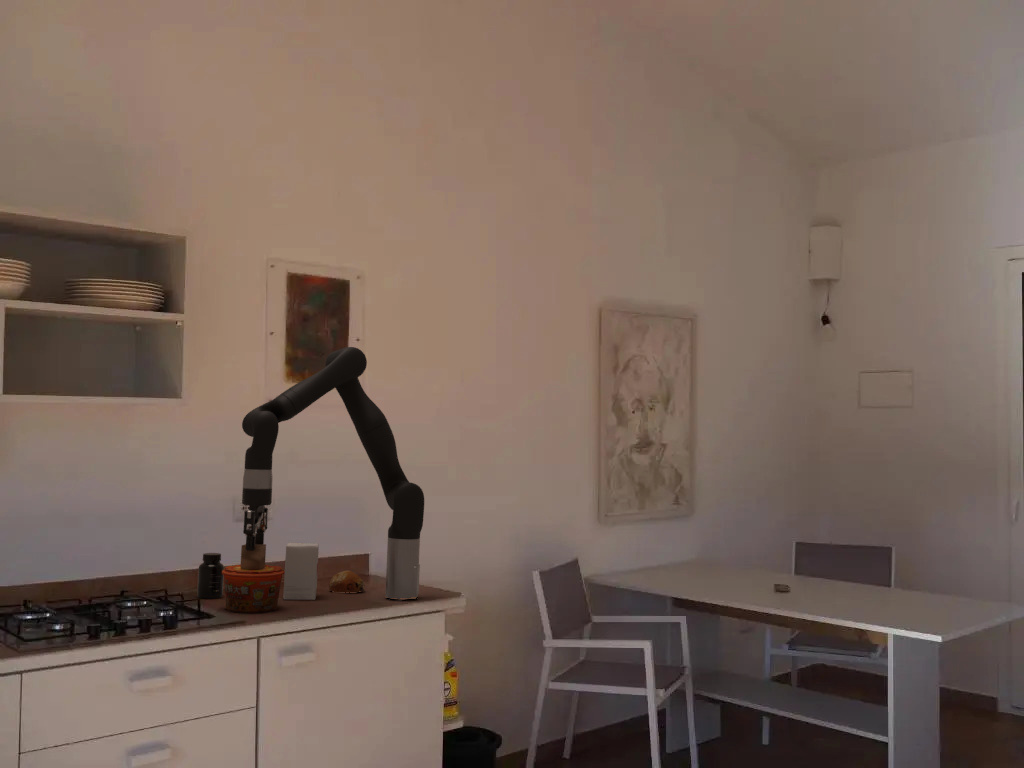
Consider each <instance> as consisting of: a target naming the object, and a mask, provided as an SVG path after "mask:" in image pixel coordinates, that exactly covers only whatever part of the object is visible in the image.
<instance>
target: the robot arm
mask: <svg viewBox="0 0 1024 768" xmlns="http://www.w3.org/2000/svg"><path fill="white" fill-rule="evenodd" d="M367 364H368V362H367V358H366V354H365V353H364V351H362V350H361V349H360V348H358V347H354V346H346V347H342V348H340V349H337V350H334V351H332V352H330V353H329V354H328V355H327V357H326V359H325V366H324V368H322V369H321V370H319V371H317V372H315V373H314V374H313V375H310V376H309V377H307V378H305V379H303V380H301V381H299V382H297V383H296V384H294V385H292V386H291V387H289V388H288V389H286V390H285V391H283V392H281V393H280V394H279V395H277V396H276V397H275V398H273V399H272V400H269V401H267V402H265V403H263V404H261V405H259V406H257V407H255V408H253V409H252V410H251V411H249V412H248V413H247V414H246V415H244V417H243V420H242V422H241V427H242V430H243V433H245V435H247V436H249V437H251V438H252V442H251V446H250V447H248V448H247V449H246V450H245V455H244V472H243V477H242V495H241V496H242V498H241V503H242V505H243V506H249V507H248V510H247V509H246V510H245V511H244V515H243V516H244V517H243V531H242V532H243V534H244V535H245V544H246V550H247V551H253V550H255V544H265V542H264V541H265V533H266V532H267V531H266V530H267V529H268V516H269V515H268V514H269V509H268V507H265V506H270V505H272V502H273V501H272V500H273V453H274V451H275V447H276V443H277V439H278V435H279V427H280V425H279V424H280V423H282V422H286V421H289V420H291V419H293V418H294V417H295V416H297V415H299V414H300V413H301V412H303V411H304V410H306V409H307V408H308V407H310V406H311V405H313V404H314V403H315V402H317V401H318V400H320V398H322V397H324V396H325V395H326V394H328V393H329V392H331V391H332V390H336V391H337V393H338V395H339V396H340V398H341V400H342V402H343V404H344V406H345V409H346V411H347V413H348V415H349V418H350V419H351V421H352V424H353V425H354V427H355V431H356V434H357V436H358V438H359V440H360V443H361V444H362V447H363V448H364V450H365V453H366V454H367V456H368V459H369V460H370V463H371V464H372V466H373V468H374V470H375V472H376V474H377V476H378V480H379V483H380V486H381V488H382V491H383V492H382V493H383V495H384V498H385V501H386V503H387V505H388V507H389V509H391V510H392V518H391V519H392V522H391V525H390V526H389V527H388V529H387V548H386V549H387V550H386V568H385V569H386V570H385V572H386V576H385V590H384V591H385V594H384V595H385V596H386V597H388V598H397V599H400V598H411V597H417V596H418V594H420V593H419V592H420V590H419V589H420V572H421V571H420V570H421V569H420V568H421V564H420V545H421V531H422V529H423V526H424V525H423V524H424V515H425V495H424V491H423V489H422V488H421V486H419V485H418V484H416V483H414V482H410V481H409V479H408V478H407V476H406V474H405V472H404V471H403V468H402V466H401V463H400V462H399V456H398V451H397V443H396V439H395V436H394V433H393V431H392V429H391V426H390V424H389V421H388V419H387V417H386V415H385V414H384V412H383V411H382V410H381V408H379V406H378V405H377V404H376V403H375V402H374V401H373V400H372V399H371V398H370V397H369V396H368V395H367V392H366V391H365V390H364V389H363V386H362V384H361V382H360V379H359V377H361V376H362V375H363V374H364V372H365V371H366V369H367ZM385 596H384V597H385Z"/></svg>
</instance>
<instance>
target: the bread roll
mask: <svg viewBox="0 0 1024 768" xmlns="http://www.w3.org/2000/svg"><path fill="white" fill-rule="evenodd" d="M365 586H366V584H365V583H364V580H362V577H360V576H359V575H358V574H357V573H354V572H353V571H351V570H343V571H340V572H337V573H336V574H334V575H333V576H332V577H331V579H330V581H329V584H328V589H329V592H330V591H334V592H345V593H346V592H349V593H350V592H359V591H362V592H363V591H364V590H365V589H364V587H365Z"/></svg>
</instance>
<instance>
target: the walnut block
mask: <svg viewBox="0 0 1024 768" xmlns="http://www.w3.org/2000/svg"><path fill="white" fill-rule="evenodd" d="M240 552H241V553H240V565H241V567H240V569H257V570H260V569H262V568H264V567H265V565H266V555H267V554H266V552H267V544H265V543H264V544H255V550H253V551H247V550H246V543H244V544H242V545H241V551H240Z"/></svg>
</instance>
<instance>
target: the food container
mask: <svg viewBox="0 0 1024 768" xmlns="http://www.w3.org/2000/svg"><path fill="white" fill-rule="evenodd" d="M240 567H241V564H235V565H229V566H228V565H227V566H226V567H225V566H224V570H223V571H222V575H224V579H223V586H224V595H225V596H224V597H225V609H226V610H227V611H229V612H233V613H239V614H259V613H268V612H273V611H275V610H277V608H278V603H279V596H280V591H281V586H282V585H281V584H282V578H283V576H284V575H285V569H284V570H283V568H282V567H281V566H278V565H270V564H265V567H264V568H262V569H260V570H257V569H240Z"/></svg>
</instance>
